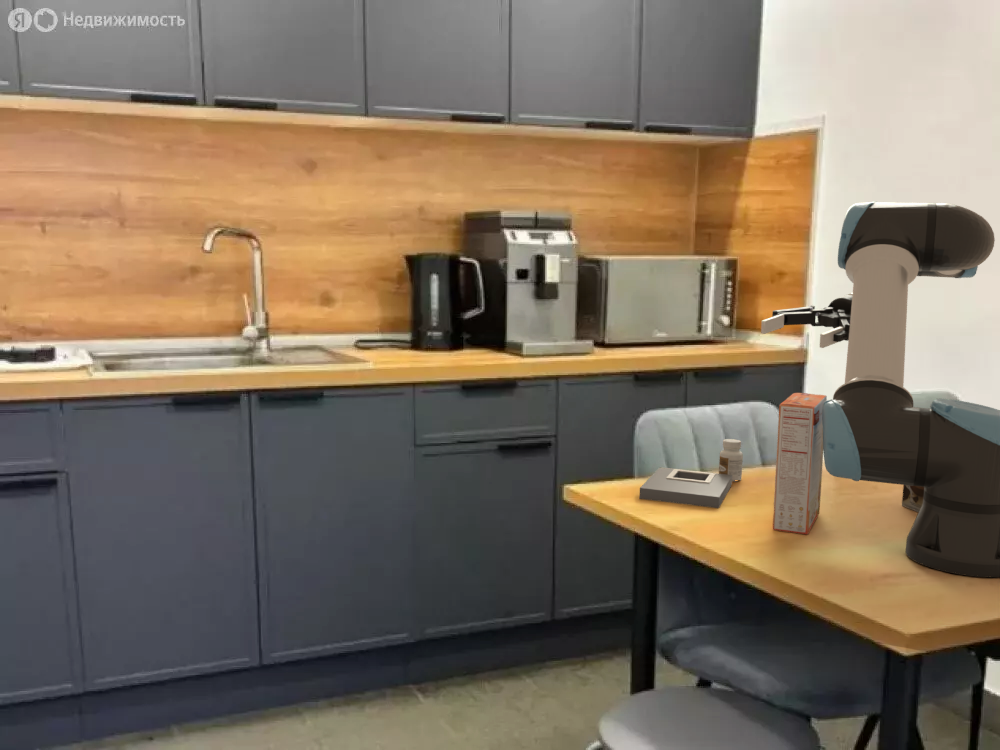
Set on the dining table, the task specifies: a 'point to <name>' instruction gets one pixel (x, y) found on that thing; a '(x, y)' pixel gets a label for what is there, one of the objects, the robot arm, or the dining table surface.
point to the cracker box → (798, 463)
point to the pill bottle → (731, 459)
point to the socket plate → (686, 487)
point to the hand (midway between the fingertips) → (791, 334)
